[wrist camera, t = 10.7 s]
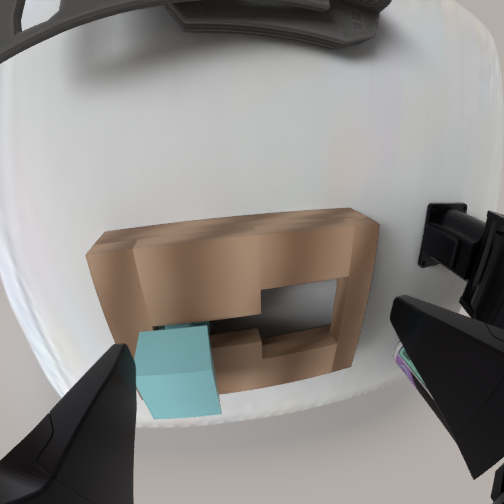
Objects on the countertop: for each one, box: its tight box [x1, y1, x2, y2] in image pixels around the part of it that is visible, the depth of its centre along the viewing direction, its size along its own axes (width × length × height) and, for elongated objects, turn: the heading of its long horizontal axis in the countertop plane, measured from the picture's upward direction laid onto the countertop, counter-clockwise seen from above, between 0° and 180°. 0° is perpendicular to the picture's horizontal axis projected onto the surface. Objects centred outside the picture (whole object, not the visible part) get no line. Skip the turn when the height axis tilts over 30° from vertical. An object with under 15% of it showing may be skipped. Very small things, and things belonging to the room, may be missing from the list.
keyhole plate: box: [86, 208, 380, 400], centre depth 20 cm, size 18×13×4 cm
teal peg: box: [134, 321, 222, 419], centre depth 17 cm, size 4×4×9 cm
